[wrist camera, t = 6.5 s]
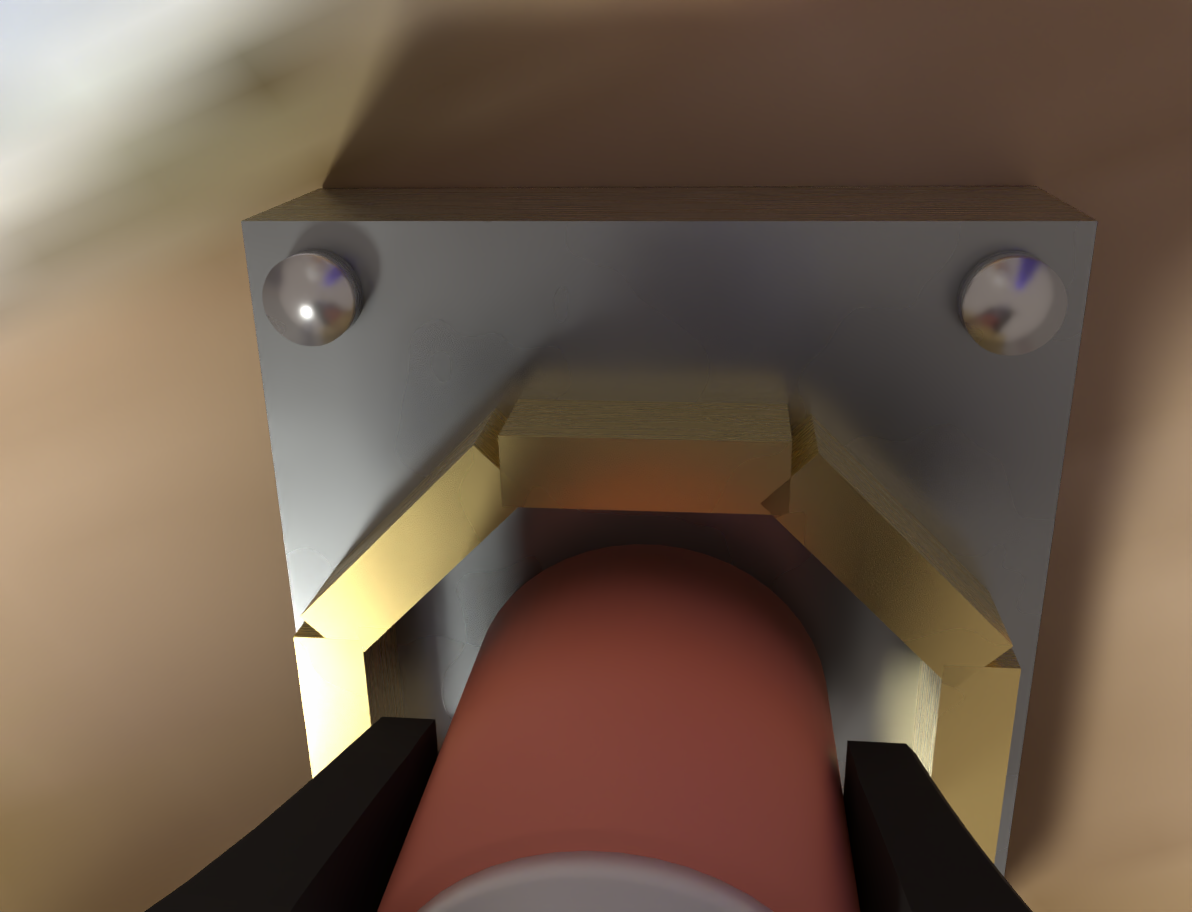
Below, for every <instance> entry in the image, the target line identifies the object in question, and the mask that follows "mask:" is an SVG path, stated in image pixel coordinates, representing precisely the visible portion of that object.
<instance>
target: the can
mask: <svg viewBox="0 0 1192 912" xmlns="http://www.w3.org/2000/svg"><path fill="white" fill-rule="evenodd" d="M377 912H860V906H859V899H858V892H857V886H856V879H855V872H854V866H853V859H852V852H851V846H850V839H849V832H848V826H847V819H846V812H845V805H844V799H843V792H842V785H841V779H840V772H839V765H838V759H837V752H836V745H835V739H834V732H833V725H832V719H831V712H830V705H829V699H828V692H827V685H826V680H825V676H824V672H823V668H822V664H821V660H820V658H819V656H818V653H817V651H816V648H815V646H814V644H813V641H812V640H811V638H810V636H809V635H808V633H807V631H806V630H805V628H804V626H803V625H802V623H801V622H800V621H799V619H798V618H797V617H796V616H795V614H794V613H793V612H792V611H791V609H790V608H789V607H788V606H787V605H786V604H785V603H784V602H783V601H782V600H781V599H780V598H779V597H778V596H777V595H776V594H775V593H774V592H773V591H772V590H770V589H769V588H768V587H766V586H765V585H764V584H762V583H761V582H759V581H758V580H757V579H755V578H754V577H753V576H751V575H749V574H748V573H746V572H744V571H742V570H740V569H738V568H737V567H735V566H733V565H731V564H729V563H727V562H724V561H722V560H719V559H717V558H714V557H712V556H709V555H706V554H703V553H699V552H695V551H692V550H688V549H684V548H678V547H671V546H664V545H648V544H631V545H620V546H610V547H605V548H601V549H596V550H591V551H587V552H584V553H581V554H579V555H576V556H573V557H570V558H567V559H565V560H563V561H561V562H559V563H557V564H555V565H553V566H551V567H549V568H547V569H545V570H543V571H542V572H541V573H539V574H538V575H536V576H535V577H533V578H532V579H530V580H529V581H527V582H526V583H525V584H524V585H523V586H522V587H521V588H520V589H519V590H517V591H516V592H515V593H514V594H513V595H512V596H511V597H510V598H509V599H508V601H507V602H506V603H505V604H504V606H503V607H502V608H501V609H500V610H499V612H498V613H497V615H496V617H495V618H494V620H493V622H492V623H491V625H490V627H489V628H488V630H487V632H486V635H485V637H484V640H483V642H482V645H481V647H480V650H479V652H478V655H477V657H476V660H475V662H474V665H473V668H472V670H471V673H470V675H469V678H468V680H467V683H466V685H465V688H464V691H463V693H462V696H461V698H460V701H459V703H458V706H457V708H456V711H455V714H454V716H453V719H452V721H451V724H450V726H449V729H448V731H447V734H446V737H445V739H444V742H443V744H442V747H441V749H440V752H439V754H438V757H437V760H436V762H435V765H434V767H433V770H432V772H431V775H430V777H429V780H428V783H427V785H426V788H425V790H424V793H423V795H422V798H421V800H420V803H419V806H418V808H417V811H416V813H415V816H414V818H413V821H412V823H411V826H410V829H409V831H408V834H407V836H406V839H405V841H404V844H403V846H402V849H401V852H400V854H399V857H398V859H397V862H396V864H395V867H394V869H393V872H392V875H391V877H390V880H389V882H388V885H387V887H386V890H385V892H384V895H383V898H382V900H381V903H380V905H379V908H378V910H377Z"/></svg>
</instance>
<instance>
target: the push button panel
mask: <svg viewBox="0 0 1192 912" xmlns="http://www.w3.org/2000/svg"><path fill="white" fill-rule="evenodd" d="M1097 222H1098V221H1096V220H1095V219H1093V218H1091V217H1089V216H1088V215H1086V214H1084V213H1082V212H1081V211H1079V210H1077V209H1075V208H1074V207H1072V206H1070V205H1068V204H1066V203H1065V202H1063V201H1061V200H1059V199H1058V198H1056V197H1054V196H1052V195H1051V194H1049V193H1047V192H1045V191H1044V190H1042V189H1040V188H1038V187H1036V186H918V187H626V188H334V189H317V190H315V191H312V192H310V193H307V194H305V195H303V196H300V197H298V198H295V199H293V200H291V201H288V202H286V203H283V204H281V205H279V206H276V207H274V208H271V209H269V210H267V211H264V212H262V213H260V214H257V215H255V216H252V217H250V218H248V219H245V220H243V221H241V223H242V231H243V238H244V246H245V253H246V260H247V268H248V275H249V283H250V290H251V298H252V305H253V313H254V320H255V328H256V335H257V343H258V350H259V358H260V365H261V373H262V380H263V388H264V395H265V403H266V410H267V418H268V425H269V433H270V440H271V448H272V455H273V463H274V470H275V478H276V485H277V493H278V500H279V508H280V515H281V523H282V530H283V538H284V545H285V552H286V560H287V567H288V575H289V582H290V590H291V597H292V605H293V612H294V620H295V627H296V634H295V636H294V644H295V652H296V659H297V666H298V674H299V681H300V689H301V696H302V704H303V711H304V718H305V726H306V733H307V741H308V748H309V755H310V763H311V770H312V778H314V777H315V776H316V775H317V774H318V773H319V772H320V771H322V770H323V769H324V768H325V767H326V766H327V765H328V764H329V763H330V762H331V761H333V760H334V759H335V758H336V757H337V756H338V755H339V754H340V753H341V752H343V751H344V750H345V749H346V748H347V747H348V746H349V745H350V744H352V743H353V742H354V741H355V740H356V739H357V738H358V737H359V736H361V735H362V734H363V733H364V732H365V731H366V730H367V729H368V728H370V727H371V726H372V725H373V724H374V723H375V722H377V721H378V720H379V719H380V718H381V717H401V718H420V719H435V721H436V733H437V745H438V754H439V752H440V749H441V747H442V744H443V742H444V739H445V737H446V734H447V731H448V729H449V726H450V724H451V721H452V719H453V716H454V714H455V711H456V708H457V706H458V703H459V701H460V698H461V696H462V693H463V691H464V688H465V685H466V683H467V680H468V678H469V675H470V673H471V670H472V668H473V665H474V662H475V660H476V657H477V655H478V652H479V650H480V647H481V645H482V642H483V640H484V637H485V635H486V632H487V630H488V628H489V627H490V625H491V623H492V622H493V620H494V618H495V617H496V615H497V613H498V612H499V610H500V609H501V608H502V607H503V606H504V604H505V603H506V602H507V601H508V599H509V598H510V597H511V596H512V595H513V594H514V593H515V592H516V591H517V590H519V589H520V588H521V587H522V586H523V585H524V584H525V583H526V582H527V581H529V580H530V579H532V578H533V577H535V576H536V575H538V574H539V573H541V572H542V571H543V570H545V569H547V568H549V567H551V566H553V565H555V564H557V563H559V562H561V561H563V560H565V559H567V558H570V557H573V556H576V555H579V554H581V553H584V552H587V551H591V550H596V549H601V548H605V547H610V546H620V545H631V544H648V545H664V546H671V547H678V548H684V549H688V550H692V551H695V552H699V553H703V554H706V555H709V556H712V557H714V558H717V559H719V560H722V561H724V562H727V563H729V564H731V565H733V566H735V567H737V568H738V569H740V570H742V571H744V572H746V573H748V574H749V575H751V576H753V577H754V578H755V579H757V580H758V581H759V582H761V583H762V584H764V585H765V586H766V587H768V588H769V589H770V590H772V591H773V592H774V593H775V594H776V595H777V596H778V597H779V598H780V599H781V600H782V601H783V602H784V603H785V604H786V605H787V606H788V607H789V608H790V609H791V611H792V612H793V613H794V614H795V616H796V617H797V618H798V619H799V621H800V622H801V623H802V625H803V626H804V628H805V630H806V631H807V633H808V635H809V636H810V638H811V640H812V641H813V644H814V646H815V648H816V651H817V653H818V656H819V658H820V660H821V664H822V668H823V672H824V676H825V680H826V685H827V692H828V699H829V705H830V712H831V719H832V725H833V732H834V739H835V745H836V752H837V759H838V765H839V772H840V779H841V785H842V792H843V793H844V779H845V766H846V753H847V740H848V741H867V742H887V743H906V744H907V745H908V746H909V747H910V748H911V749H912V750H913V751H914V752H915V753H916V755H917V756H918V758H919V759H920V761H921V763H922V764H923V766H924V767H925V769H926V770H927V772H928V773H929V775H930V776H931V778H932V780H933V781H934V783H935V784H936V785H937V787H938V788H939V790H940V791H941V793H942V794H943V796H944V797H945V799H946V800H947V802H948V803H949V804H950V806H951V807H952V809H953V810H954V811H955V813H956V814H957V816H958V817H959V818H960V820H961V821H962V823H963V824H964V825H965V827H966V828H967V830H968V831H969V832H970V834H971V835H972V836H973V838H974V839H975V840H976V842H977V843H978V844H979V846H980V847H981V848H982V850H983V851H984V852H985V853H986V855H987V856H988V857H989V859H990V860H991V861H992V862H993V864H994V865H995V866H996V867H997V869H998V870H999V871H1000V872H1001V874H1002V875H1003V876H1004V874H1005V866H1006V859H1007V852H1008V845H1009V838H1010V831H1011V824H1012V817H1013V810H1014V803H1015V796H1016V789H1017V782H1018V775H1019V768H1020V761H1021V754H1022V747H1023V740H1024V733H1025V726H1026V719H1027V712H1028V705H1029V698H1030V691H1031V684H1032V677H1033V670H1034V663H1035V656H1036V649H1037V642H1038V635H1039V628H1040V621H1041V614H1042V607H1043V600H1044V593H1045V586H1046V579H1047V572H1048V565H1049V558H1050V551H1051V544H1052V537H1053V530H1054V523H1055V516H1056V509H1057V502H1058V495H1059V488H1060V481H1061V474H1062V467H1063V460H1064V453H1065V446H1066V439H1067V432H1068V425H1069V418H1070V411H1071V404H1072V397H1073V390H1074V383H1075V376H1076V369H1077V362H1078V355H1079V348H1080V341H1081V334H1082V327H1083V320H1084V313H1085V306H1086V299H1087V292H1088V285H1089V278H1090V271H1091V264H1092V257H1093V250H1094V243H1095V236H1096V229H1097Z"/></svg>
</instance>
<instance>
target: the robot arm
mask: <svg viewBox="0 0 1192 912" xmlns="http://www.w3.org/2000/svg"><path fill="white" fill-rule="evenodd" d="M437 757H438V745H437V733H436V721H435V719H420V718H401V717H381V718H380V719H379V720H378V721H377V722H375V723H374V724H373V725H372V726H371V727H370V728H368V729H367V730H366V731H365V732H364V733H363V734H362V735H361V736H359V737H358V738H357V739H356V740H355V741H354V742H353V743H352V744H350V745H349V746H348V747H347V748H346V749H345V750H344V751H343V752H341V753H340V754H339V755H338V756H337V757H336V758H335V759H334V760H333V761H331V762H330V763H329V764H328V765H327V766H326V767H325V768H324V769H323V770H322V771H320V772H319V773H318V774H317V775H316V776H315V777H314V778H313V779H311V780H310V781H309V782H308V783H307V784H306V785H305V786H304V787H303V788H301V789H300V790H299V791H298V792H297V793H296V794H295V795H293V796H292V797H291V798H290V799H289V800H288V801H286V802H285V803H284V804H283V805H282V806H281V807H279V808H278V809H277V810H276V811H275V812H274V813H272V814H271V815H270V816H269V817H268V818H267V819H265V820H264V821H263V822H262V823H261V824H260V825H259V826H257V827H256V828H255V829H254V830H252V831H251V832H250V833H249V834H247V835H246V836H245V837H243V838H242V839H241V840H240V841H238V842H237V843H236V844H235V845H233V846H232V847H231V848H229V849H228V850H227V851H226V852H224V853H223V854H222V855H221V856H219V857H218V858H217V859H215V860H214V861H213V862H212V863H210V864H209V865H208V866H207V867H205V868H204V869H203V870H201V871H200V872H199V873H198V874H196V875H195V876H194V877H192V878H191V879H190V880H189V881H187V882H186V883H184V884H183V885H182V886H180V887H179V888H178V889H176V890H175V891H173V892H172V893H171V894H169V895H168V896H166V897H165V898H163V899H162V900H161V901H159V902H158V903H156V904H155V905H153V906H152V907H150V908H149V909H148V910H146V911H145V912H377V910H378V908H379V905H380V903H381V900H382V898H383V895H384V892H385V890H386V887H387V885H388V882H389V880H390V877H391V875H392V872H393V869H394V867H395V864H396V862H397V859H398V857H399V854H400V852H401V849H402V846H403V844H404V841H405V839H406V836H407V834H408V831H409V829H410V826H411V823H412V821H413V818H414V816H415V813H416V811H417V808H418V806H419V803H420V800H421V798H422V795H423V793H424V790H425V788H426V785H427V783H428V780H429V777H430V775H431V772H432V770H433V767H434V765H435V762H436V760H437ZM843 799H844V805H845V812H846V819H847V826H848V832H849V839H850V846H851V852H852V859H853V866H854V872H855V879H856V886H857V892H858V899H859V906H860V912H1032V911H1031V909H1030V908H1029V907H1028V906H1027V905H1026V903H1025V902H1024V901H1023V900H1022V899H1021V897H1020V896H1019V895H1018V894H1017V893H1016V891H1015V890H1014V889H1013V888H1012V886H1011V885H1010V884H1009V883H1008V881H1007V880H1006V879H1005V878H1004V876H1003V875H1002V874H1001V872H1000V871H999V870H998V869H997V867H996V866H995V865H994V864H993V862H992V861H991V860H990V859H989V857H988V856H987V855H986V853H985V852H984V851H983V850H982V848H981V847H980V846H979V844H978V843H977V842H976V840H975V839H974V838H973V836H972V835H971V834H970V832H969V831H968V830H967V828H966V827H965V825H964V824H963V823H962V821H961V820H960V818H959V817H958V816H957V814H956V813H955V811H954V810H953V809H952V807H951V806H950V804H949V803H948V802H947V800H946V799H945V797H944V796H943V794H942V793H941V791H940V790H939V788H938V787H937V785H936V784H935V783H934V781H933V780H932V778H931V776H930V775H929V773H928V772H927V770H926V769H925V767H924V766H923V764H922V763H921V761H920V759H919V758H918V756H917V755H916V753H915V752H914V751H913V750H912V749H911V748H910V747H909V746H908V745H907V744H906V743H887V742H867V741H848V740H847V753H846V766H845V779H844V793H843Z"/></svg>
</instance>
